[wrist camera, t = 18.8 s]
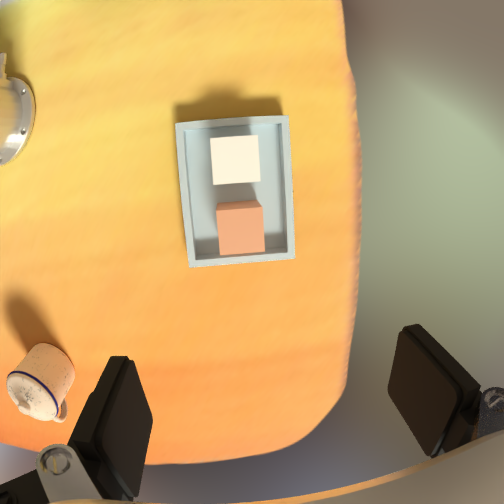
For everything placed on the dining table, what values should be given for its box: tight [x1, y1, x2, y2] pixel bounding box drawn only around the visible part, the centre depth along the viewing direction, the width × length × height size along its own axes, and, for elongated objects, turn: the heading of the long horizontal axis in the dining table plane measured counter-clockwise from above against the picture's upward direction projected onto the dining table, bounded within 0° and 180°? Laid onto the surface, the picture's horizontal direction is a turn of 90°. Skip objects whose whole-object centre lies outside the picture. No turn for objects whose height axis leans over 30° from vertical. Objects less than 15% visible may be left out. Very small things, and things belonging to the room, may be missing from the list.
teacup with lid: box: [6, 343, 75, 422], centre depth 36 cm, size 12×9×12 cm
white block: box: [210, 135, 261, 185], centre depth 32 cm, size 4×4×6 cm
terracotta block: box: [216, 200, 265, 255], centre depth 34 cm, size 4×4×6 cm
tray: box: [175, 115, 295, 268], centre depth 35 cm, size 16×12×3 cm
